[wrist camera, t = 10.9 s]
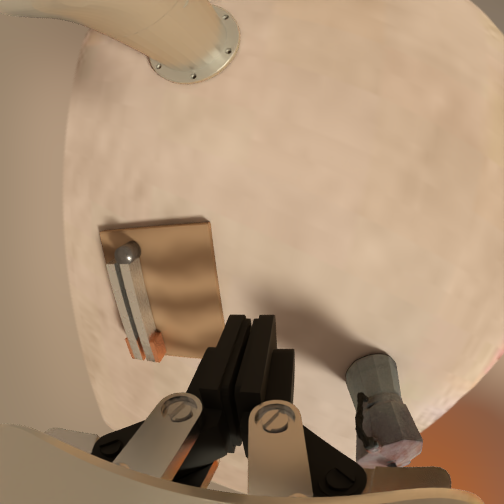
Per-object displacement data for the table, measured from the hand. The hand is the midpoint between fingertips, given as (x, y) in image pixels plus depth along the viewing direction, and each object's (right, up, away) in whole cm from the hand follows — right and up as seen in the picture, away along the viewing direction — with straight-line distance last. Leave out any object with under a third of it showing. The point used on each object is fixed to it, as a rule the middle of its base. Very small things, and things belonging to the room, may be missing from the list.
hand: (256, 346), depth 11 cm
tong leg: (-17, -4, +32) cm, 36 cm away
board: (-14, -3, +32) cm, 35 cm away
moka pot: (+19, -16, +32) cm, 41 cm away
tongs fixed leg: (-19, -5, +32) cm, 38 cm away
